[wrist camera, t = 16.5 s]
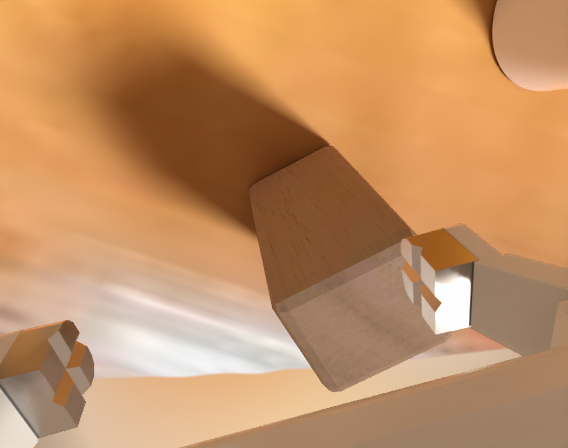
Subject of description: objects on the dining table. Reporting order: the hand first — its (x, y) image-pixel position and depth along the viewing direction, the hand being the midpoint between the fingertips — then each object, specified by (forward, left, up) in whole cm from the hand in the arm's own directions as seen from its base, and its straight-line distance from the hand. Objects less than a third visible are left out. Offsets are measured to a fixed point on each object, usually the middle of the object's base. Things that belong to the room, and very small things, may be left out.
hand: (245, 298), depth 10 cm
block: (+2, +14, -31) cm, 34 cm away
